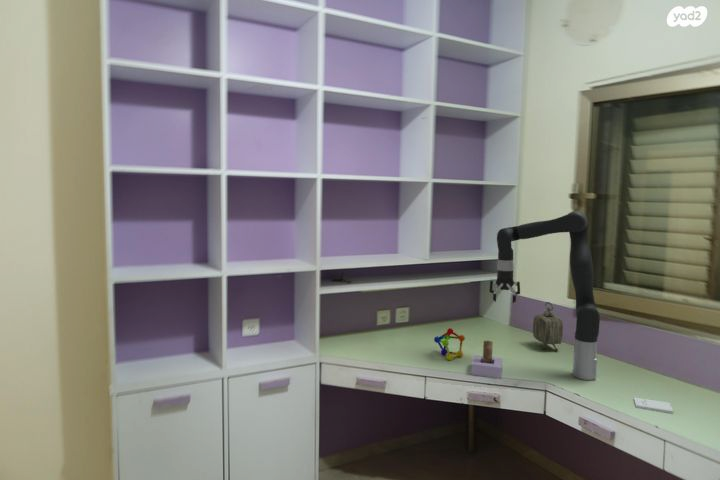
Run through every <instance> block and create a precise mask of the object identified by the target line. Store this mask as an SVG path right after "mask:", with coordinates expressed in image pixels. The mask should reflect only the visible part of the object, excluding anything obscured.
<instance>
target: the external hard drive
mask: <svg viewBox="0 0 720 480" xmlns="http://www.w3.org/2000/svg"><path fill="white" fill-rule="evenodd" d="M633 402H634V405H635V408H636V409H641V408H643V409H642V410H647V409H648V410H649V411H653V410H654V412H660V413H665V414H666V413H667V414H672V415H673V414H674V410H673V407H672V405H671V402H666V401H660V400H653V399H646V398H640V397H633Z"/></svg>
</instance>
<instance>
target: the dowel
mask: <svg viewBox="0 0 720 480" xmlns="http://www.w3.org/2000/svg"><path fill="white" fill-rule="evenodd" d="M493 343H494V342H493V341H492V340H491V341H490V340H484V341H483V350H482V352H483V353H482V356H483V363H489V364H492V357H493Z"/></svg>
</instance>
